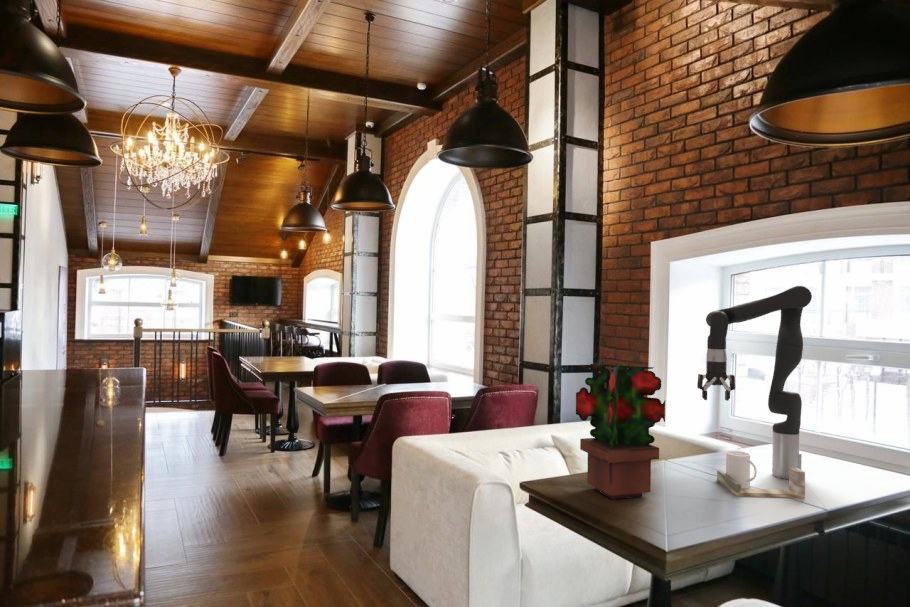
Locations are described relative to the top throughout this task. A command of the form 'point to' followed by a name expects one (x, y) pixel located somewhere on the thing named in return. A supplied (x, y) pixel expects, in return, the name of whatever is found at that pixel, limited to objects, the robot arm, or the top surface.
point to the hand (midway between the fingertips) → (715, 400)
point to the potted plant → (620, 428)
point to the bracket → (794, 489)
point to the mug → (739, 467)
